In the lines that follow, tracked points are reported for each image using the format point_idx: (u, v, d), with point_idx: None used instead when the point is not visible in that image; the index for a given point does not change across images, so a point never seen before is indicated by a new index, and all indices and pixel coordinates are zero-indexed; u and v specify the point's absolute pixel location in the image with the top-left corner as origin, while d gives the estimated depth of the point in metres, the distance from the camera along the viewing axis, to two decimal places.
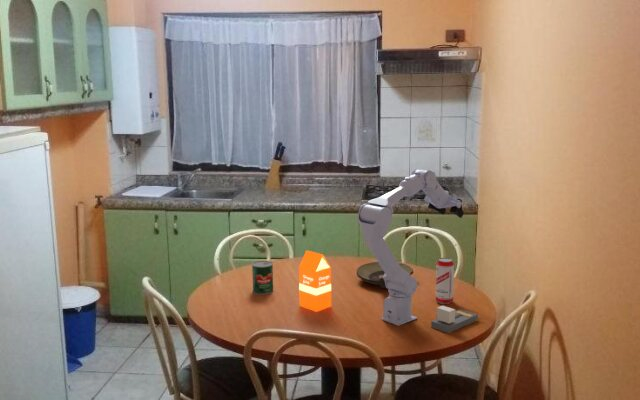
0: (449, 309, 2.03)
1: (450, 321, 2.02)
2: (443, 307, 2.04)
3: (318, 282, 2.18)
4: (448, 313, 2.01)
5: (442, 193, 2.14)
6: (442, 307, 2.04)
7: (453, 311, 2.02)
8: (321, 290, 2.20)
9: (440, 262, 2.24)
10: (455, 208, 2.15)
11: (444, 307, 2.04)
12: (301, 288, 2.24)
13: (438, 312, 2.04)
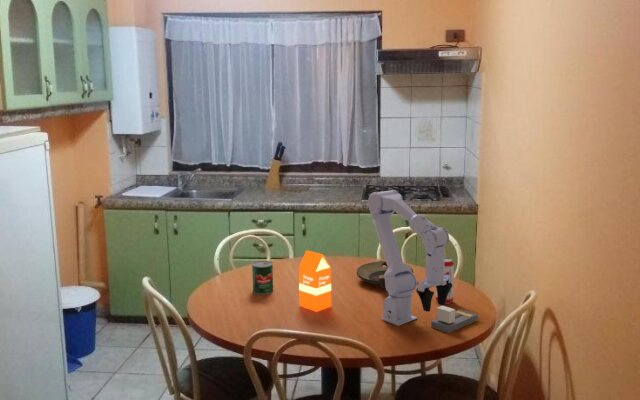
0: (449, 309, 2.03)
1: (450, 321, 2.02)
2: (443, 307, 2.04)
3: (318, 282, 2.18)
4: (448, 313, 2.01)
5: (430, 268, 1.94)
6: (442, 307, 2.04)
7: (453, 311, 2.02)
8: (321, 290, 2.20)
9: None
10: None
11: (444, 307, 2.04)
12: (301, 288, 2.24)
13: (438, 312, 2.04)
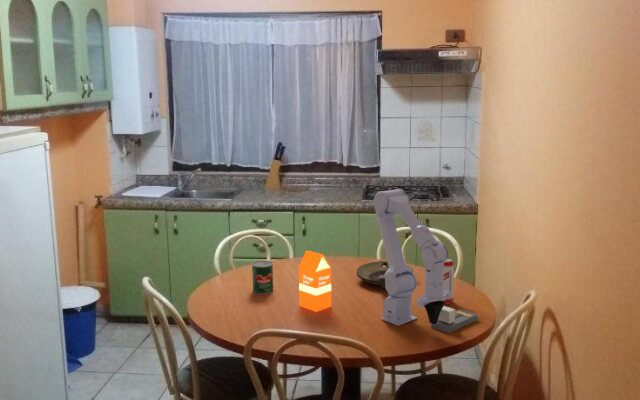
0: (449, 309, 2.03)
1: (450, 321, 2.02)
2: (443, 307, 2.04)
3: (318, 282, 2.18)
4: (448, 313, 2.01)
5: (429, 284, 1.95)
6: None
7: (453, 311, 2.02)
8: (321, 290, 2.20)
9: None
10: None
11: (444, 307, 2.04)
12: (301, 288, 2.24)
13: None
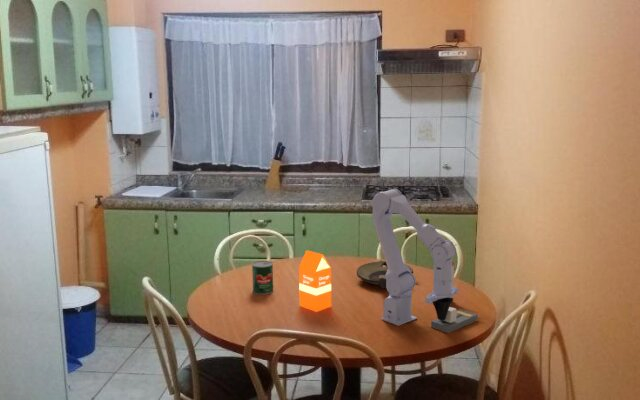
0: (450, 308, 2.03)
1: (451, 320, 2.02)
2: None
3: (318, 282, 2.18)
4: (449, 312, 2.01)
5: (437, 281, 1.98)
6: None
7: (455, 310, 2.03)
8: (321, 290, 2.20)
9: None
10: None
11: None
12: (301, 288, 2.24)
13: None
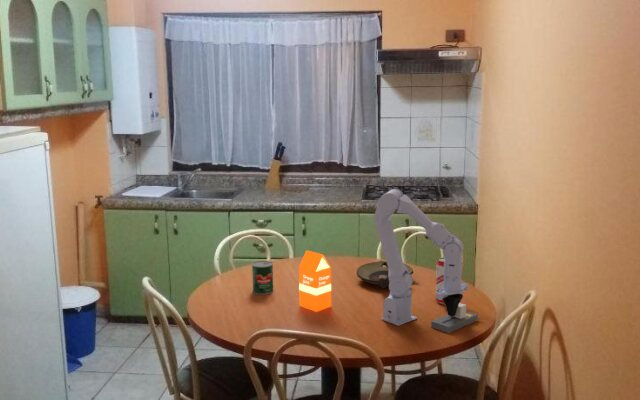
0: (460, 304, 2.06)
1: (461, 316, 2.06)
2: None
3: (318, 282, 2.18)
4: (459, 308, 2.05)
5: (447, 277, 2.01)
6: None
7: (465, 306, 2.06)
8: (321, 290, 2.20)
9: (440, 262, 2.24)
10: None
11: None
12: (301, 288, 2.24)
13: None
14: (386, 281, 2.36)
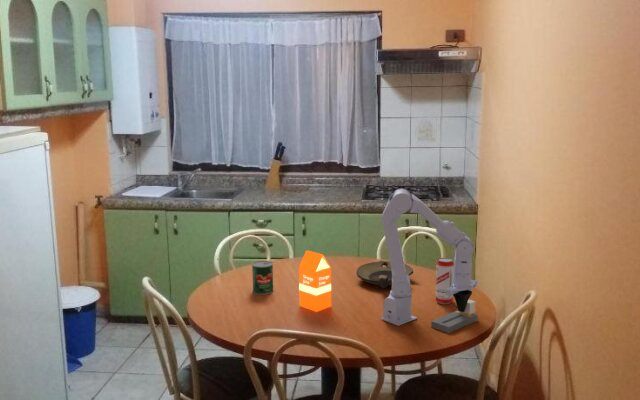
0: (469, 301, 2.10)
1: (470, 312, 2.09)
2: None
3: (318, 282, 2.18)
4: (468, 305, 2.08)
5: (458, 274, 2.05)
6: None
7: (474, 302, 2.09)
8: (321, 290, 2.20)
9: (440, 262, 2.24)
10: None
11: None
12: (301, 288, 2.24)
13: None
14: (386, 281, 2.36)
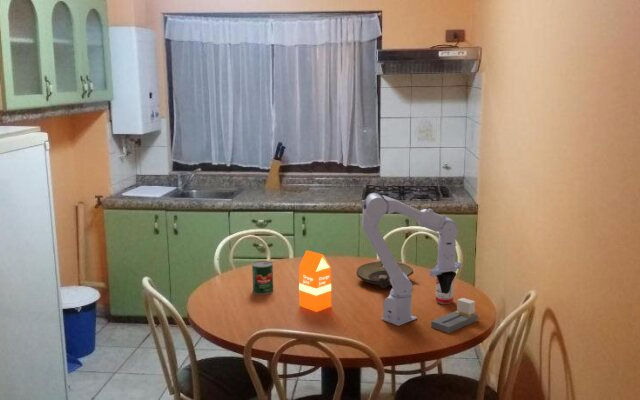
0: (469, 301, 2.10)
1: (470, 312, 2.09)
2: (463, 299, 2.12)
3: (318, 282, 2.18)
4: (468, 305, 2.08)
5: (441, 255, 2.07)
6: (462, 299, 2.11)
7: (473, 302, 2.09)
8: (321, 290, 2.20)
9: None
10: None
11: (464, 299, 2.11)
12: (301, 288, 2.24)
13: (458, 304, 2.11)
14: (386, 281, 2.36)
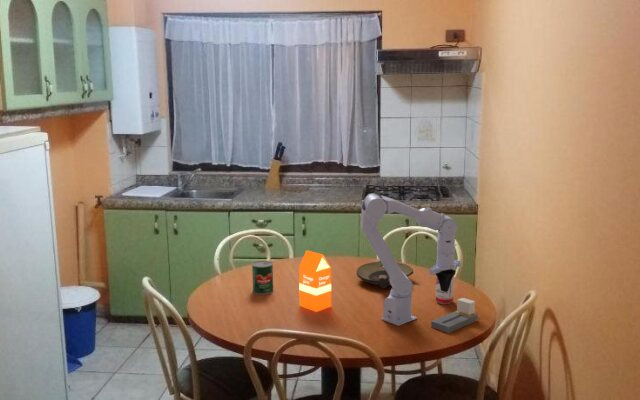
0: (469, 301, 2.10)
1: (470, 312, 2.09)
2: (463, 299, 2.12)
3: (318, 282, 2.18)
4: (468, 305, 2.08)
5: (441, 253, 2.07)
6: (462, 299, 2.11)
7: (473, 302, 2.09)
8: (321, 290, 2.20)
9: None
10: None
11: (464, 299, 2.11)
12: (301, 288, 2.24)
13: (458, 304, 2.11)
14: (386, 281, 2.36)
